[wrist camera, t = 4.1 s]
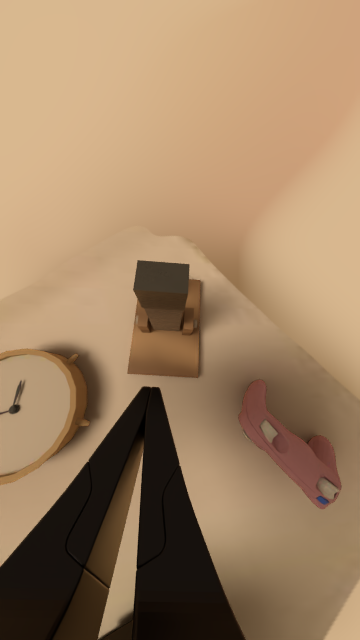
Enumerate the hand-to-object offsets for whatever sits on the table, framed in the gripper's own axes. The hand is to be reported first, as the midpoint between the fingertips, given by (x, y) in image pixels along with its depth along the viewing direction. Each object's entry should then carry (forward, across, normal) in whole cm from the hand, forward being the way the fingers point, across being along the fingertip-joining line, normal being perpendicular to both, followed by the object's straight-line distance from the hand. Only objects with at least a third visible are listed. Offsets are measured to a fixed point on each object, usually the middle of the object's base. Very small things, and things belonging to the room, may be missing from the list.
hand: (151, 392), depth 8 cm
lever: (+12, 0, +3) cm, 12 cm away
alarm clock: (+6, +15, +12) cm, 20 cm away
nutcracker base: (+13, 0, +4) cm, 14 cm away
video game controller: (+6, -13, +12) cm, 18 cm away
